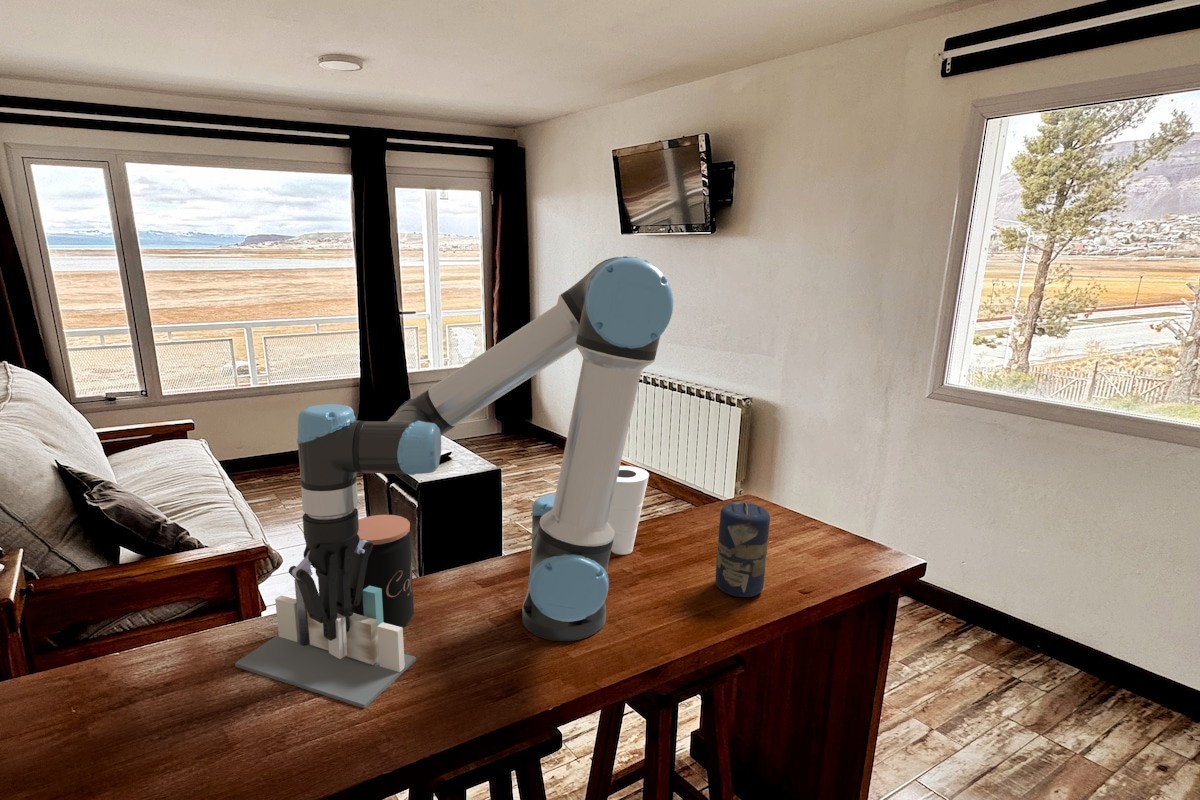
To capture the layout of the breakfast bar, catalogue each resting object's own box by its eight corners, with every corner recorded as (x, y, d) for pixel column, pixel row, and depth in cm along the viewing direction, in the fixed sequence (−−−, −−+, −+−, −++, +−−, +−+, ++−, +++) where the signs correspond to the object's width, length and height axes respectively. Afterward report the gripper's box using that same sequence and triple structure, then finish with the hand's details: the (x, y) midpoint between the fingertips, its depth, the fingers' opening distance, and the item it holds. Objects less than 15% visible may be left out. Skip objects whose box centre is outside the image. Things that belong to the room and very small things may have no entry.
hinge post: (316, 643, 105) (310, 577, 103) (307, 650, 104) (301, 583, 101) (307, 640, 106) (301, 575, 103) (297, 647, 104) (291, 580, 102)
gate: (309, 644, 103) (306, 605, 102) (317, 639, 105) (313, 601, 103) (373, 665, 99) (370, 624, 97) (379, 659, 100) (377, 619, 99)
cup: (646, 561, 137) (650, 482, 133) (597, 560, 137) (599, 481, 133) (644, 540, 147) (647, 466, 143) (598, 538, 147) (600, 465, 143)
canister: (709, 594, 124) (715, 508, 120) (719, 573, 133) (725, 492, 129) (759, 605, 120) (767, 517, 116) (766, 582, 129) (774, 499, 125)
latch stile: (385, 655, 103) (381, 588, 100) (378, 661, 101) (374, 593, 99) (373, 652, 104) (369, 585, 101) (366, 657, 102) (362, 590, 99)
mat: (416, 660, 102) (416, 656, 102) (364, 708, 91) (364, 704, 91) (295, 626, 110) (295, 623, 110) (235, 666, 99) (234, 663, 99)
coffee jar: (395, 642, 106) (390, 543, 102) (338, 633, 108) (331, 536, 104) (424, 609, 116) (421, 517, 112) (372, 601, 119) (366, 511, 115)
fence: (404, 667, 99) (402, 627, 97) (399, 672, 98) (397, 631, 96) (284, 632, 107) (281, 595, 106) (278, 636, 106) (275, 598, 104)
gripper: (351, 492, 100) (357, 627, 105) (273, 517, 89) (284, 666, 94) (383, 503, 96) (388, 642, 101) (305, 530, 86) (315, 685, 90)
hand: (338, 653), depth 98 cm, fingers closed
